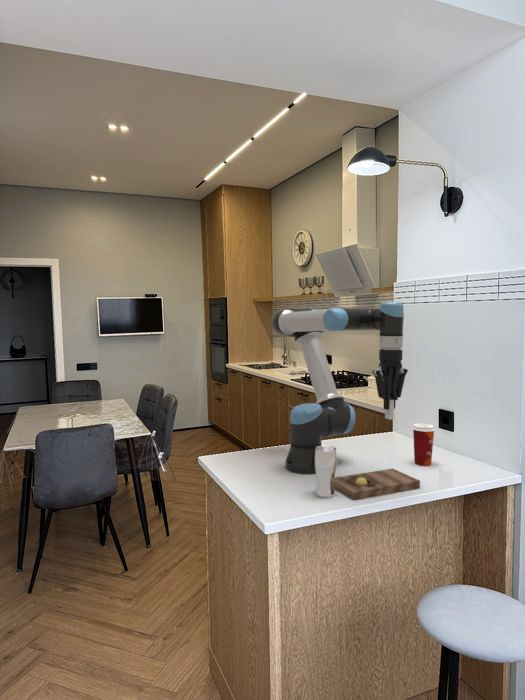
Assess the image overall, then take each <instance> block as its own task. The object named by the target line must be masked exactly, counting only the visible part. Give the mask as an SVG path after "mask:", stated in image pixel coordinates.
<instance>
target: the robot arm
mask: <svg viewBox="0 0 525 700" xmlns="http://www.w3.org/2000/svg"><path fill="white" fill-rule="evenodd" d="M379 306H380V307H378V308H377V307H332V308H331V307H330V308H325V309H315V308H310V307H305V308H290V307H289V308H281V309H279V310H277V311H276V312H275V313H273V315H272V318H271V323H270V326H271V329H272V330H273V332H275V334H276V335H278V336H280V337H285V338H294V341H295V344H296V345H298V346H300V348H301V351H302V355H303V358H304V361H305V365H306V368H307V372H308V374H309V378H310V381H311V384H312V388H313V391H314V395H315V397H316V403H314V402H311V403H301V404H298V405H295V406H294V407H293V408H292V409H291V410H290V417H289V423H290V425H289V427H290V429H289V430H290V431H289V432H290V435H289V436H290V437H289V438H290V439H289V440H290V441H289V442H290V443H289V444H290V445H289V450H288V452H287V455H286V459H285V469H286V468H287V469H286V470H288V471H289V470H290V471H289V472H292V473H297V474H309V475H310V474H316V471H315V448H316V447H317V446H322V442H323V441H322V439H323V438H329V437H333V436H334V437H335V436H342V435H345V434H348V433H350V432H351V431H352V430H353V429H354V427H355V423H356V412H355V409H354V407H353V406H351V404H349V403H347V402H346V401H345V398H344V396H342V395H340V394H339V392H338V389H337V387H336V383H335V381H334V377H333V374H332V371H331V368H330V364H329V362H328V358H327V355H326V351H325V349H324V347H323V346H324V345H323V343H322V338H323V337H324V332H327V331H329V332H332V331H334V332H340V331H379V340H378V342H379V345H378V346H379V348H380V349H379V350H378V351H379V352H378V359H379V364H378V368H376V369H373V370H372V374H373V377H374V379H375V386H376V390H377V391H376V392H377V395H378V398H381V399H383V409H384V419H387V420H391V421H393V420H394V418H395V417H394V415H395V413H394V411H395V409H396V401H398V399H399V398H401V396H402V393H403V392H402V391H403V388H404V383H405V379H406V375H407V373H408V372H409V371H408V369H407V368H404V366H403V364H402V360H403V353H404V351H403V350H402V348H403V346H404V345H403V341H404V334H403V333H404V317H405V313H404V310H405V309H404V304H403V302H400V301H399V302H398V301H395V302H394V301H383V302H381V303H380V305H379Z"/></svg>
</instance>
